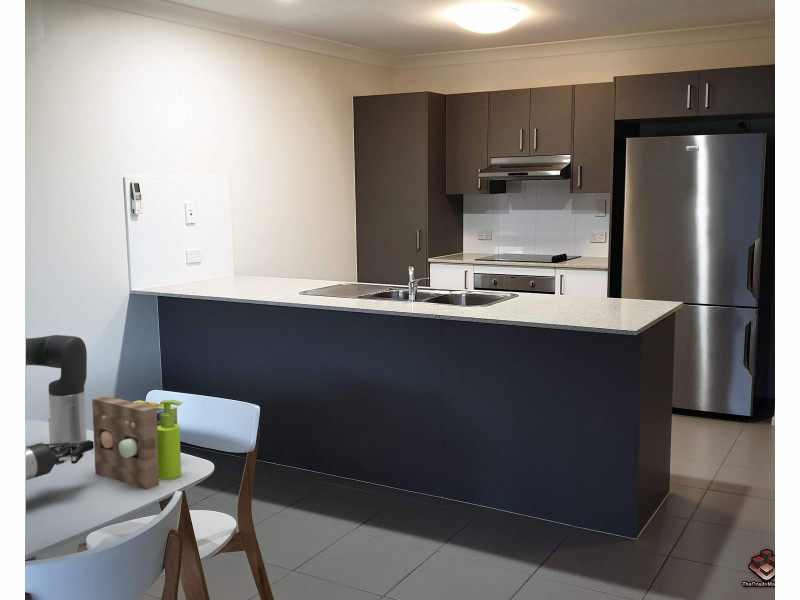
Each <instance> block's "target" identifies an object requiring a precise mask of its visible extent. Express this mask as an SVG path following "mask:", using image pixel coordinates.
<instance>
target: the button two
mask: <svg viewBox="0 0 800 600" xmlns="http://www.w3.org/2000/svg"><path fill="white" fill-rule="evenodd" d="M119 451H120V453H121V455H122V456H123V457H124V458H128V457H131V456H134V455H137V454H138V439H136V438H133V437H132V438H129V439H126V440H122V441H121V442H120V444H119Z"/></svg>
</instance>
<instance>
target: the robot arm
mask: <svg viewBox="0 0 800 600" xmlns="http://www.w3.org/2000/svg"><path fill="white" fill-rule="evenodd" d="M25 338H26V337H25ZM87 363H88V353H87V347H86V344H85V341H84V340H83V339H82V338H81V337H79V336H75V335H74V336H73V335H63V334H62V335H60V334H54V335H47V336H40V337H39V336H38V337H32V338H31V337H30V338H29V337H27V338H26V366H25V367H27V366H42V367H46V368H47V367H49V368H53V369H60V378H58V379H55V380H53V381H51V382H50V383H49V384H48V402H49V403H48V405H49V417H48V430H49V431H48V432H49V433H48V435H49V443H43V442H39V443H35V444H32V445H28V446H25V447H26V481H29V480H32V479H36V478H39V477H42V476H44V475H49V474H50V473H51V471H52V470H53V468H54V466H55V465H56V466H59V465H62V464H64V463H65V462H68V461H70V463H71V464H73V465H75V464H77V463H78V462H80V460H81V459H82V458H83V457H84V453H87V452H89V451H92V450H94V440H93V441H92V440H89V439H87V420H86V419H87V417H86V399H85V398H86V396H85V384H86V381H87V373H88V371H87V368H88V367H87V366H88V365H87Z"/></svg>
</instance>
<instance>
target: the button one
mask: <svg viewBox="0 0 800 600" xmlns="http://www.w3.org/2000/svg"><path fill="white" fill-rule="evenodd" d="M101 442H102V444H103V446H104V447H105V448H111V447H113V442H112V432H111V431H104V432H103V433H102V434H101Z"/></svg>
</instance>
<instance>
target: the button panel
mask: <svg viewBox="0 0 800 600" xmlns="http://www.w3.org/2000/svg"><path fill="white" fill-rule="evenodd" d="M91 400H92V424H93V428H92V429H93V444H94V448H93V450H94V471H95V475H99V476H102V477H105V478H108V479H112V480H114V481H118V482H121V483H124V484H127V485H130V486H133V487H137V488H140V489H143V490H149V489H151V488H154V487H156V486H159V485H160V479H159V468H158V438H157V407H152V406H148V405H143V404H139V403H135V402H134V401H130V400H126V399H120V398H116V397H111V396H108V395H103V396H98V397H94V398H92V399H91ZM104 431H111V432H112V442H113V447H111V448H105V447H104V446H103V444H102V442H101V434H102V433H103V432H104ZM132 437H133V438H136V439H138V454H137V455H134V456H131V457H128V458H124V457H123V456H122V455H121V453H120V451H119V444H120V442H121V441H122V440H126V439H129V438H132Z"/></svg>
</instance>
